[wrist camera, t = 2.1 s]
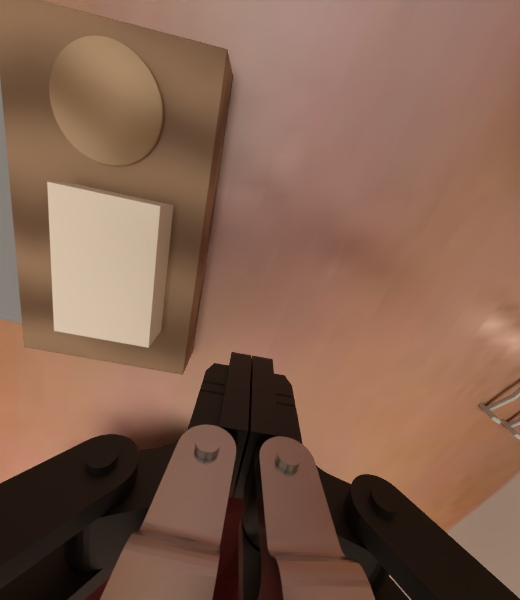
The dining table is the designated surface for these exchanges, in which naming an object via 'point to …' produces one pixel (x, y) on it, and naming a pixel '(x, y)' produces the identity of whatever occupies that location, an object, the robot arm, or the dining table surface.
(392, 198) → the dining table surface
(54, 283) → the card box
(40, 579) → the robot arm
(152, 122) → the coaster
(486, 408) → the figurine
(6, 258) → the mat
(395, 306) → the dining table surface
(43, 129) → the board
